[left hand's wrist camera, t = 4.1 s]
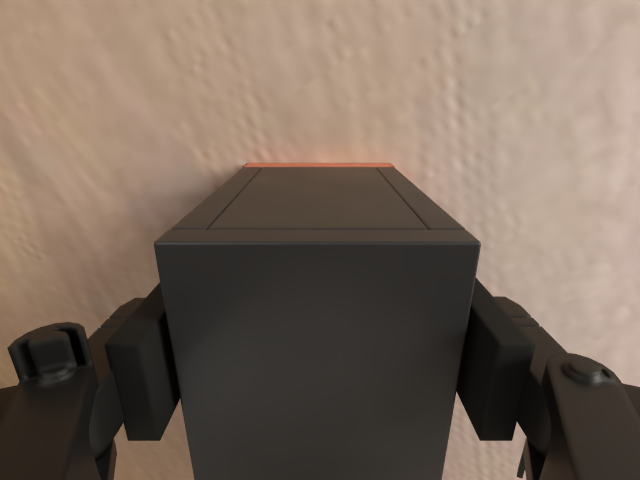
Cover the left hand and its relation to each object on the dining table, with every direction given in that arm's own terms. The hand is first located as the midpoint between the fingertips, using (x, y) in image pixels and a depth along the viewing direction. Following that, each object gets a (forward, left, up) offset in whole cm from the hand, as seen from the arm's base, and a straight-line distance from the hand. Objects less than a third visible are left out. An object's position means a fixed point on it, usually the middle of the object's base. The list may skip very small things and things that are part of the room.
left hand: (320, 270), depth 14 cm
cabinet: (+5, 0, -5) cm, 7 cm away
